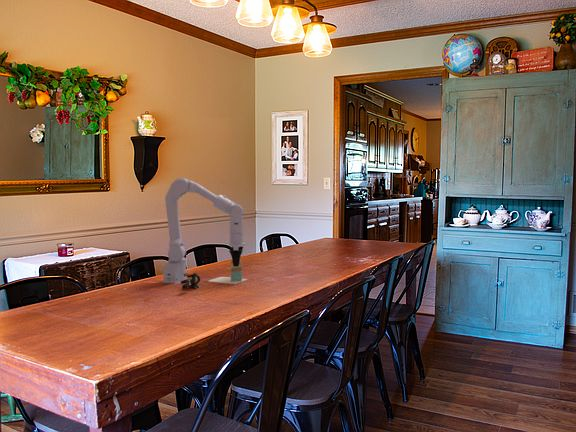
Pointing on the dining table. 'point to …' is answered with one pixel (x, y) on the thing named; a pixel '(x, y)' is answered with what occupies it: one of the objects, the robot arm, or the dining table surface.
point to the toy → (191, 281)
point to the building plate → (225, 280)
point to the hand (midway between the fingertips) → (236, 264)
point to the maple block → (236, 267)
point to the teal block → (236, 276)
